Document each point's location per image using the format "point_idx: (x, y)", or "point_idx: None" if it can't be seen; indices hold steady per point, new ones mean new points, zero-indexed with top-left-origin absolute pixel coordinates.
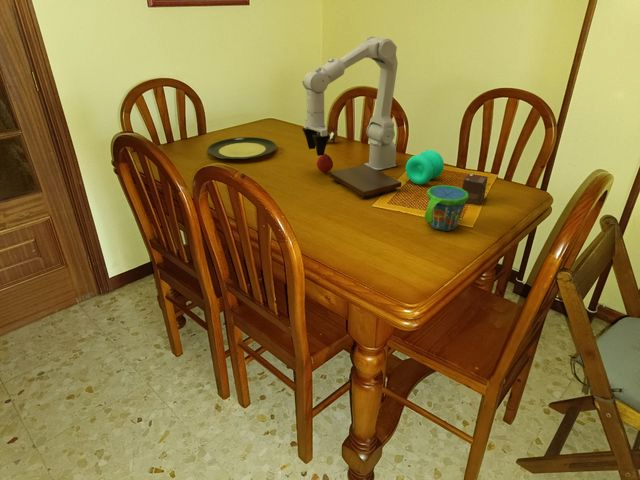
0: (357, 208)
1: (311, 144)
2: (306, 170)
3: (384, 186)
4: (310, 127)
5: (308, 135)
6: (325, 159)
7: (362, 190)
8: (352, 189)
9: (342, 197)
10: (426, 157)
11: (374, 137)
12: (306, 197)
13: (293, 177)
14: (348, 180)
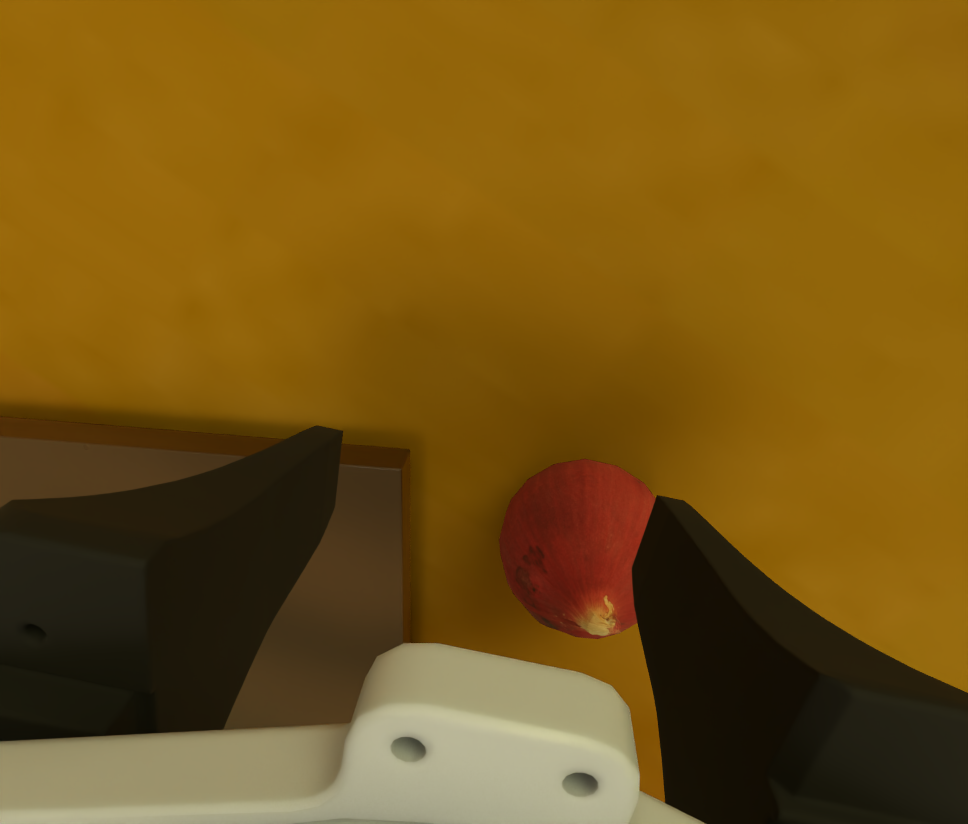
0: None
1: (663, 568)
2: (766, 411)
3: None
4: (241, 789)
5: (730, 653)
6: (534, 562)
7: None
8: (52, 422)
9: (46, 305)
10: None
11: None
12: (159, 11)
13: (703, 198)
14: (142, 478)
